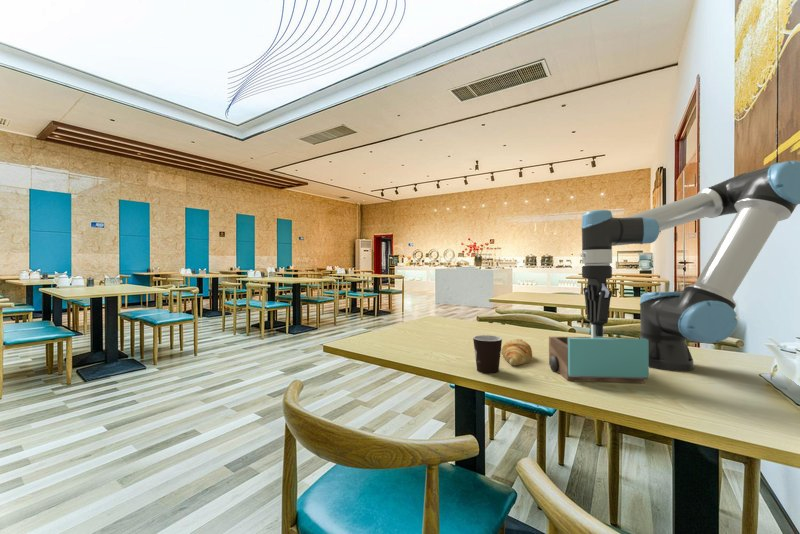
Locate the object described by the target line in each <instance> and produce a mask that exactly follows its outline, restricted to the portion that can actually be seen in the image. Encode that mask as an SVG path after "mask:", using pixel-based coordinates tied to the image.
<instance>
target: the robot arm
mask: <svg viewBox="0 0 800 534" xmlns="http://www.w3.org/2000/svg"><path fill="white" fill-rule="evenodd" d="M798 205H800V160H787V161H782V162H775V163H774V164H772V165H769V166H765V167H762V168H757V169H755V170H751V171H748V172H744V173H741V174H738V175H735V176H733V177H730V178H728V179H725V180H724V181H721V182H719V183H716V184H714V185H711V186H709V187H706V188H703V189H700V190H699V191H698V193H697V194H694V195H692V196H688V197H685V198H682V199H679V200H676V201H672V202H670V203H666V204H662V205H660V206H657V207H654V208H650V209H647V210H644V211H640V212H638V213H634V214H632V215H628V216H626V217H613V213H612V211H611V210H608V209H597V210H596V209H595V210H589V211H586V212H584V213H583V215H582V218H581V227H580V229H581V246H582V247H581V253H580V257H581V258H582V259H581V263H582V264H584V265H583V266H581V278H582V279H587V283H586V284H587V285H586V287H583V288H582V290H583V294H584V300H585V301H584V304H585V311H586V312H585V313H586V319H587V321H589V323H590V337H591V338H603V337H604V325H605V324H608V321H609V314H610V305H611V298H612V295H613V290H610V289H608V283H607V279H612V278H613V267H612V265H610V264H612V263H613V247H614V246H625V245H644V244H646V245H648V244H652V243H654V242H655V241H657V239H658V238H659V236H660V232H662V231H665V230H668V229H671V228H674V227H677V226H678V227H679V226H681V225H684V224H688V223H691V222H694V221H697V220H700V219H704V218H708V219H715V218H718V217H721V216H726V215H732V214H735V216H734V217H733V219H732V220H731V222H730V224H729V225H728V228H727V229H726V231H725V233H724V235H723V236H722V238H721V239H720V241H719V243H718V244H717V246H716V248H715V249H714V251H713V253H712V254H711V256H710V257H709V259H708V261H707V262H706V264H705V266H704V267H703V269H702V271H701V272H700V274H699V276H698V278H697V279H696V281H695V282H694V283H692V284H689V285H686V286H685V287H684V289H683V290H682V291H654V292H652V291H651V292H644V293H642V294H641V296H640V301H639V302H640V303H639V307H640V309H639V310H640V311H639V312H640V315H639V317H640V338H639V339H648V342H649V367H650V368H653V369H654V368H655V369H660V370H667V371H677V372H678V371H682V372H683V371H690V370H693V369H694V365H695V364H694V363H695V361H694V359H693V356H692V353H691V351H690V349H689V345H688V343H687V340H689V341H692V342H696V343H702V344H703V343H704V344H715V343H721V342H723V341H725V340H726V339H728V338H730V336H732V335H733V333H734V332H735V331H736V329H737V326H738V319H737V318H736V317H738V316H737V313H736V310H735V308H736V306H737V303H736V301H735V300H734V296H735V294H736V292H737V290H738V289H739V287H740V286H741V284H742V282H743V281H744V279H745V278H746V275H747V274H748V272H749V271H750V269H751V267H752V266H753V264H754V263H755V261H756V259H757V257H758V256H759V254H760V252H761V251H762V249H763V247H765V246H764V245H766V242H767V241H768V239H769V238H770V236H771V234H772V232H773V231H774V230H775V228H776V227H777V225H778V222H781V221H785V220H787V219H789V218H790V217H791V216H792V214H793V212H794V211H795V209H796V207H797V206H798Z"/></svg>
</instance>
